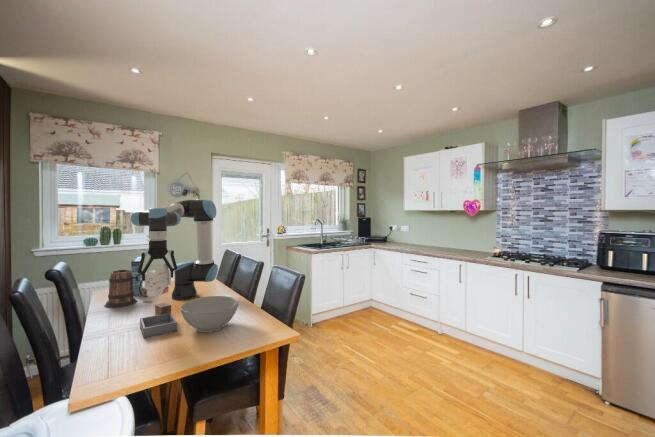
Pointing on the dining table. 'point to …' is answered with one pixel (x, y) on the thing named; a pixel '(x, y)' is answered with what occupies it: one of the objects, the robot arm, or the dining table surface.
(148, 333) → the bin
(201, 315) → the decorative bowl
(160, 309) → the walnut block
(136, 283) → the gum box
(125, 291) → the tankard
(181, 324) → the dining table surface
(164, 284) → the ink cartridge box
